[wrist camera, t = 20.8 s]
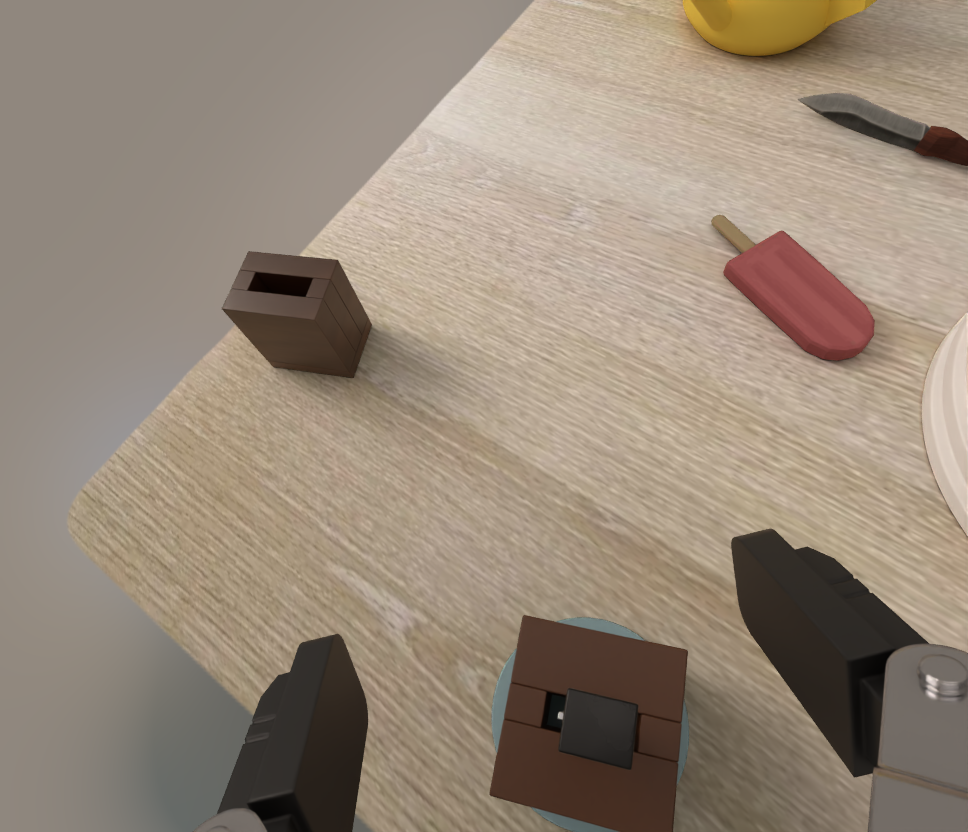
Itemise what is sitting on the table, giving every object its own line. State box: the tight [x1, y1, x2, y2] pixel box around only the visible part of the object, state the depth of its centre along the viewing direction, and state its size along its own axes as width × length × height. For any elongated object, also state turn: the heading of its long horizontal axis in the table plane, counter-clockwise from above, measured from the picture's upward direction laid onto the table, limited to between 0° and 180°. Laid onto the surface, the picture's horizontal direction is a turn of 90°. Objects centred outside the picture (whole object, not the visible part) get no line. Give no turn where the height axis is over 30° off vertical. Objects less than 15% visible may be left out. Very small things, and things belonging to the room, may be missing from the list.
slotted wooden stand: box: [490, 615, 689, 832], centre depth 32 cm, size 11×11×8 cm
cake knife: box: [558, 688, 638, 770], centre depth 28 cm, size 2×3×16 cm, turn 78°
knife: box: [797, 93, 968, 166], centre depth 49 cm, size 18×2×3 cm, turn 52°
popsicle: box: [711, 215, 874, 361], centre depth 46 cm, size 5×2×15 cm
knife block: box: [222, 251, 372, 378], centre depth 46 cm, size 5×7×8 cm
